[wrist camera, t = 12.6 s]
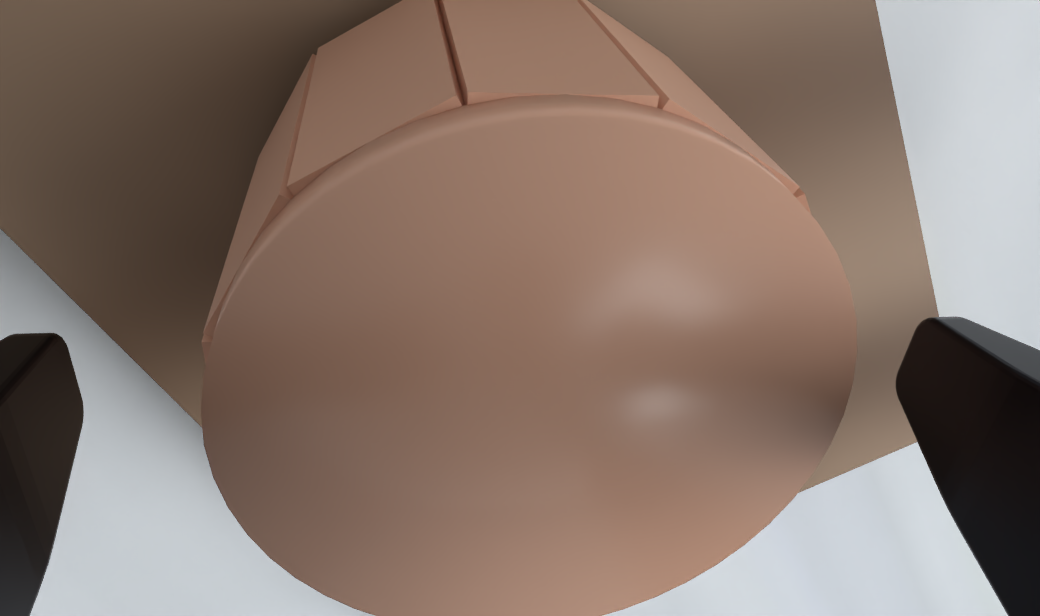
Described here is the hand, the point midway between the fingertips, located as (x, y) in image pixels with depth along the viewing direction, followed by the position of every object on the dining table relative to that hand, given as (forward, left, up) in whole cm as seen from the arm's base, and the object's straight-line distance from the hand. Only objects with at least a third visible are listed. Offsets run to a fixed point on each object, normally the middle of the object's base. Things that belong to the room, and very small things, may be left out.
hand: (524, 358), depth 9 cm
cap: (0, 0, -4) cm, 4 cm away
